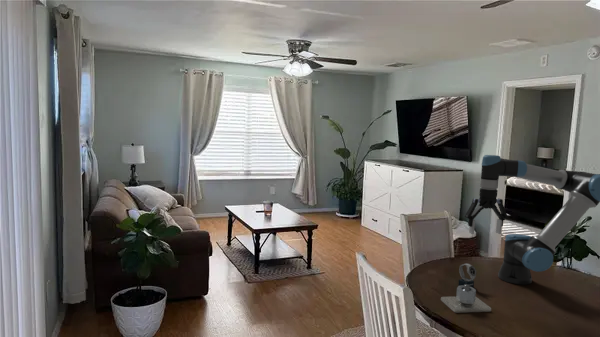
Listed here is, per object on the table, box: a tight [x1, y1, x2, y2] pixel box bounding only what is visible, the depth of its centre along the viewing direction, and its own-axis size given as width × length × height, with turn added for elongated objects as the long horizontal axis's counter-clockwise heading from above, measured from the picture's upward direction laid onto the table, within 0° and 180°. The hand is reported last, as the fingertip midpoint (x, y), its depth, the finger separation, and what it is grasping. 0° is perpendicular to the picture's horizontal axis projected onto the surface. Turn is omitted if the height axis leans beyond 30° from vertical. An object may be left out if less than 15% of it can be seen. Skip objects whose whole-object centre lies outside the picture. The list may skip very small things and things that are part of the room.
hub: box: [455, 286, 477, 304], centre depth 176 cm, size 7×7×5 cm
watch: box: [457, 263, 477, 288], centre depth 197 cm, size 6×8×11 cm
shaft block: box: [440, 284, 492, 314], centre depth 176 cm, size 16×12×9 cm
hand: (484, 233), depth 194 cm, fingers open, 13 cm apart
